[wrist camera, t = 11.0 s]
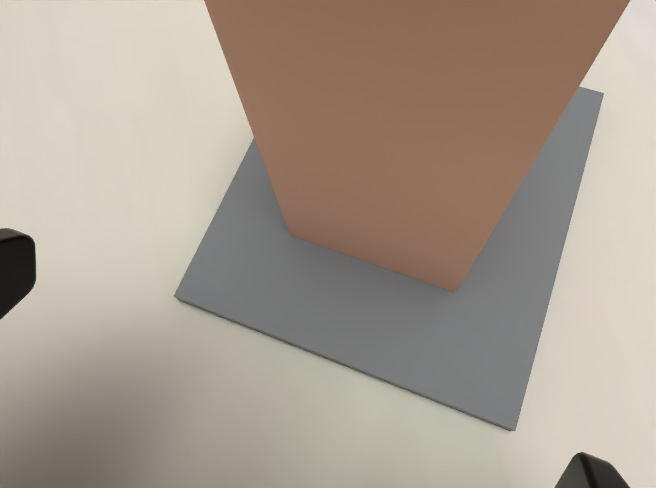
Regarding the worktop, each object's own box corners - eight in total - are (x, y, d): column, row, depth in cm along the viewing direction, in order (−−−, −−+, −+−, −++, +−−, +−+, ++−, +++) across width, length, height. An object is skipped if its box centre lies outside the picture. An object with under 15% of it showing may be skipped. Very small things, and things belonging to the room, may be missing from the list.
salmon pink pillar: (455, 292, 16) (659, -47, 5) (290, 235, 17) (148, -152, 6) (503, 144, 18) (734, -358, 7) (350, 100, 19) (327, -396, 8)
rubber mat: (510, 430, 15) (515, 430, 15) (178, 300, 17) (173, 296, 17) (598, 101, 19) (604, 93, 18) (316, 27, 21) (314, 17, 20)
